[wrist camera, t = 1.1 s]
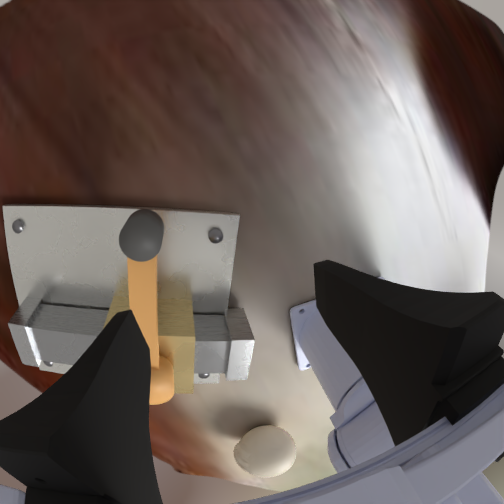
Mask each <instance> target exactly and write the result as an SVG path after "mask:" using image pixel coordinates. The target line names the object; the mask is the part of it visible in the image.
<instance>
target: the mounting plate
mask: <svg viewBox="0 0 504 504" xmlns="http://www.w3.org/2000/svg"><path fill="white" fill-rule="evenodd" d="M140 209H149V210H152V211H154V212H156V213H157V214H158V215H159V216H160V217H161V219H162V220H163V223H164V235H163V240H162V246H161V249H160V251H159V253H158V254H157V299H179V300H192V306H193V315H223V312H224V310H228V302H229V294H230V287H231V279H232V271H233V263H234V256H235V248H236V241H237V233H238V226H239V219H240V215H239V213H229V212H216V211H202V210H187V209H170V208H152V207H131V206H106V205H72V204H6V205H4V206H3V215H4V225H5V234H6V242H7V248H8V255H9V261H10V266H11V272H12V277H13V281H14V286H15V290H16V295H17V299H18V303H19V306H20V305H21V304H22V302H23V301H24V300H25V298H26V297H34V298H42V301H43V304H46V305H55V306H65V307H75V308H85V309H97V310H109V309H110V306H111V303H112V300H113V297H114V296H120V297H129V289H128V267H127V256H126V255H125V254H124V253H123V252H122V250H121V248H120V245H119V234H120V231H121V229H122V228H123V226H124V224H125V223H126V221H127V219H128V218H129V216H130V215H131V214H132V213H133V212H135V211H137V210H140ZM72 366H73V365H67V364H60V363H54V362H48V361H42V360H41V362H40V365H39V368H40V370H45V371H50V372H56V373H62V374H65V373H66V372H67V371H68V370H69V369H70V368H71V367H72ZM219 378H220V373H210V374H194V384H197V383H219Z"/></svg>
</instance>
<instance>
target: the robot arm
mask: <svg viewBox="0 0 504 504" xmlns="http://www.w3.org/2000/svg"><path fill="white" fill-rule="evenodd" d="M314 277H315V294H316V300H313V301H310V302H307V303H304V304H301V305H298V306H295V307H293V308H291V310H290V318H291V325H292V331H293V337H294V344H295V350H296V357H297V364H298V368H299V370H306V369H308V368H311V367H312V369H313V371H314V373H315V375H316V377H317V378H318V380H319V382H320V384H321V386H322V388H323V390H324V391H325V393H326V395H327V397H328V399H329V401H330V402H331V404H332V406H333V408H334V410H335V413H334V414H333V415H332V416H331V417H330V419H331V421H332V423H333V425H334V427H335V429H334V430H332V431H331V432H330V433H329V436H328V454H329V458H330V460H331V462H332V464H333V466H334V468H335V470H336V471H337V474H335V475H332V476H330V477H327V478H324V479H321V480H319V481H316V482H313V483H310V484H307V485H304V486H301V487H298V488H294V489H291V490H288V491H284V492H281V493H277V494H273V495H270V496H265V497H261V498H257V499H253V500H248V501H243V502H238V503H233V504H504V499H503V498H502V497H501V495H500V494H499V493H498V492H497V490H496V489H495V488H494V486H493V485H492V484H491V483H490V481H489V480H488V479H487V478H486V476H485V475H484V474H483V473H482V471H483V470H484V469H486V468H487V467H488V466H489V465H490V464H491V463H492V462H493V461H494V460H496V459H497V458H498V457H499V456H500V455H501V454H502V453H503V452H504V359H503V358H502V357H501V356H502V355H503V353H504V352H503V349H501V348H500V347H499V346H498V344H499V342H500V340H501V338H502V335H503V333H504V299H503V298H501V297H500V296H499V295H497V294H496V293H494V292H478V293H453V292H440V291H432V290H425V289H419V288H414V287H409V286H405V285H400V284H397V283H393V282H390V281H387V280H385V279H384V278H383V277H374V276H371V275H368V274H366V273H363V272H360V271H358V270H355V269H352V268H350V267H347V266H345V265H342V264H339V263H336V262H333V261H330V260H325V261H322V262H318V263H315V264H314ZM301 309H303V310H302V311H300V310H301ZM299 311H300V312H299ZM150 383H151V359H150V348H149V346H148V344H147V342H146V340H145V338H144V336H143V334H142V332H141V329H140V327H139V325H138V323H137V321H136V319H135V316H134V314H133V312H132V310H126V311H122V312H117V313H116V314H115V315H114V316H113V318H112V319H111V320H110V321H109V322H108V324H107V325H106V326H105V327H104V329H103V330H102V331H101V332H100V334H99V335H98V336H97V337H96V339H95V340H94V341H93V343H92V344H91V345H90V346H89V347H88V349H87V350H86V351H85V352H84V353H83V354H82V356H81V357H80V358H79V359H78V360H77V362H76V363H75V364H74V365H73V366H72V367H71V368H70V369H69V370H68V371H67V372H66V373H65V374H64V375H63V376H62V377H61V378H60V379H59V380H58V381H57V382H56V383H54V384H53V385H52V386H51V387H50V388H48V389H47V390H46V391H45V392H44V393H42V394H41V395H40V396H39V397H38V398H36V399H35V400H33V401H32V402H31V403H29V404H27V405H26V406H24V407H23V408H21V409H20V410H18V411H17V412H15V413H13V414H11V415H9V416H8V417H6V418H4V419H2V420H0V467H2V468H3V469H4V470H5V471H7V472H8V473H9V474H11V475H12V476H13V477H15V478H16V479H17V480H19V481H20V482H21V483H23V484H24V485H26V486H27V489H26V493H25V492H23V491H21V490H18V489H15V488H11V487H7V486H4V485H1V484H0V504H163V503H162V499H161V495H160V492H159V488H158V483H157V479H156V474H155V469H154V464H153V457H152V450H151V442H150V433H149V400H150Z"/></svg>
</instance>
